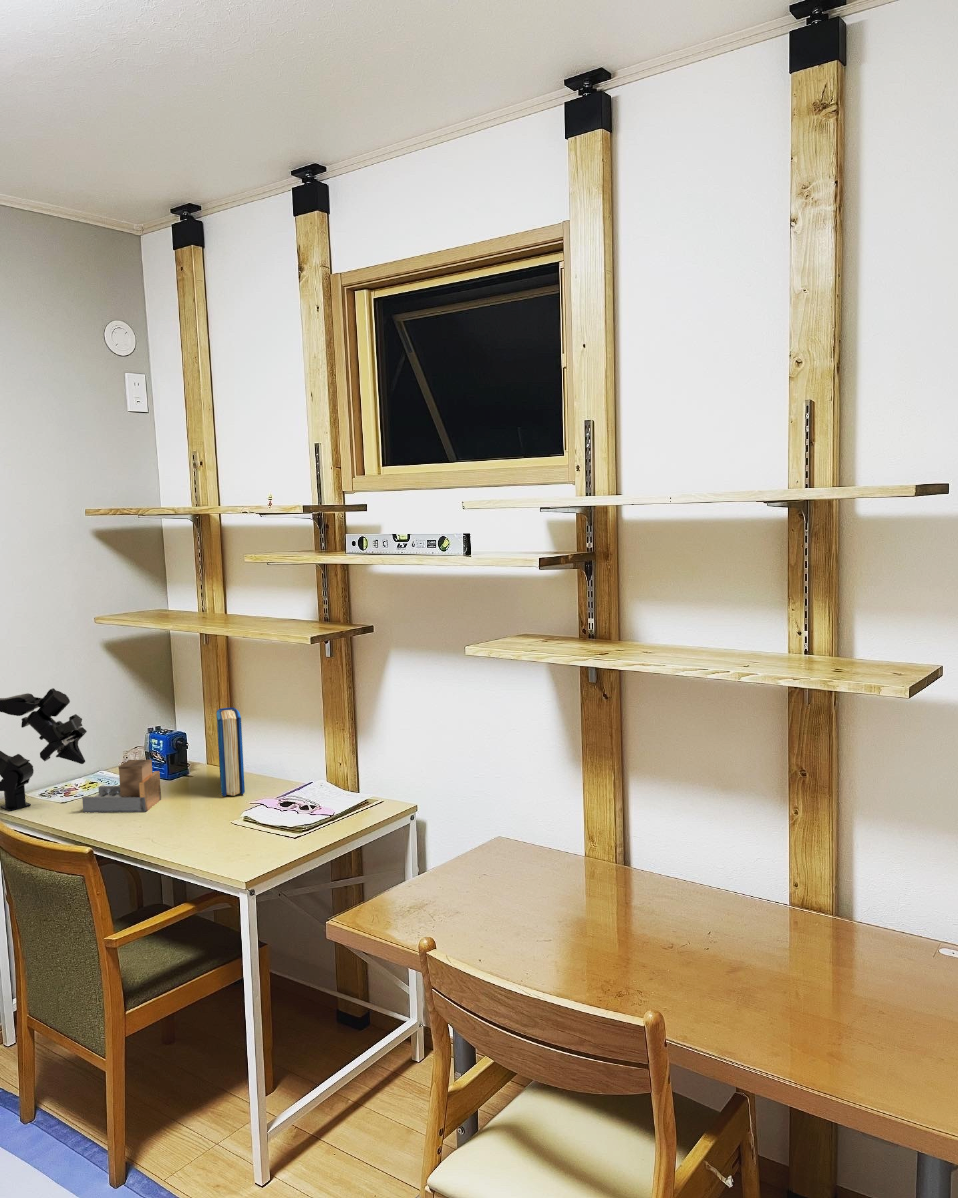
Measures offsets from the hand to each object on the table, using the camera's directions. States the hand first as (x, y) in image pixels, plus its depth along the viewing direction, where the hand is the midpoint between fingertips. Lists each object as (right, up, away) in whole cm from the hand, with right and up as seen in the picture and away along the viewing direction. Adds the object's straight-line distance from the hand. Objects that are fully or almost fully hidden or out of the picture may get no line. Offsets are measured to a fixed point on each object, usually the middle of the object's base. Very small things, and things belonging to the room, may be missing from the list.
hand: (84, 762), depth 289 cm
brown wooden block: (+16, -10, +1) cm, 19 cm away
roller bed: (+11, -13, +1) cm, 17 cm away
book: (+40, -11, +17) cm, 45 cm away
